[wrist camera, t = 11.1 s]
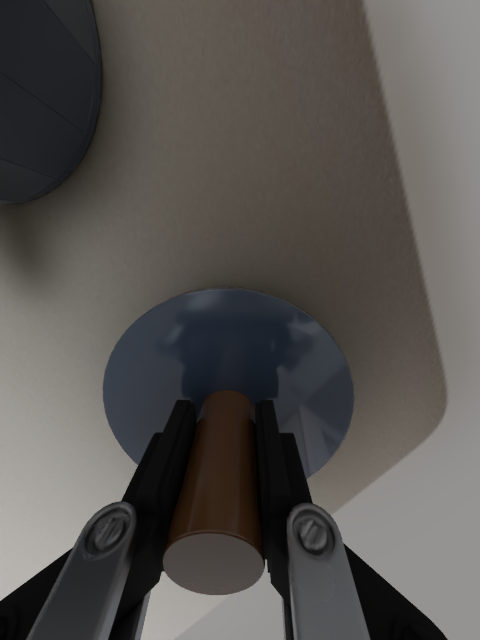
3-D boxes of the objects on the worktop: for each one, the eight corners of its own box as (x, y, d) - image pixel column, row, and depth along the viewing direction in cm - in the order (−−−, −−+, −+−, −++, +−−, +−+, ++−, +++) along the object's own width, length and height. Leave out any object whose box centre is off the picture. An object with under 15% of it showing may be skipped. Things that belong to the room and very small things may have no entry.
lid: (361, 283, 10) (562, 344, 4) (330, 481, 14) (405, 682, 7) (92, 285, 10) (-151, 347, 4) (134, 480, 14) (44, 673, 8)
